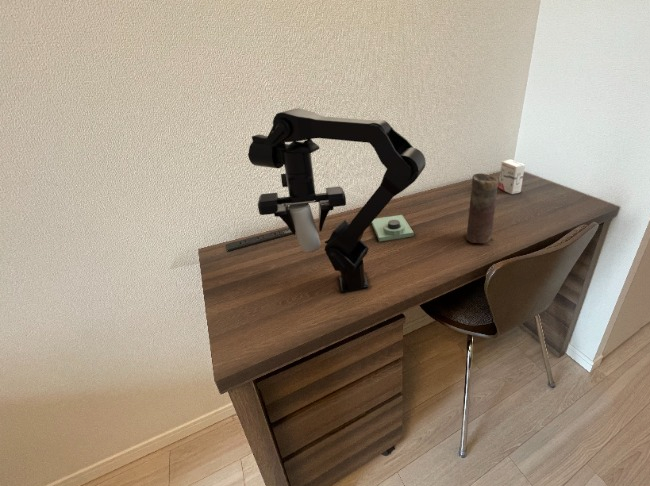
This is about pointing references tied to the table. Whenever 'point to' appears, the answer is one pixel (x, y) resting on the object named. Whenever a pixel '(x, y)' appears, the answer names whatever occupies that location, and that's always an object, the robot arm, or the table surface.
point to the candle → (482, 208)
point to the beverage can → (305, 227)
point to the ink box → (511, 176)
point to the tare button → (393, 224)
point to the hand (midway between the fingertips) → (307, 232)
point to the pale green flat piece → (390, 234)
